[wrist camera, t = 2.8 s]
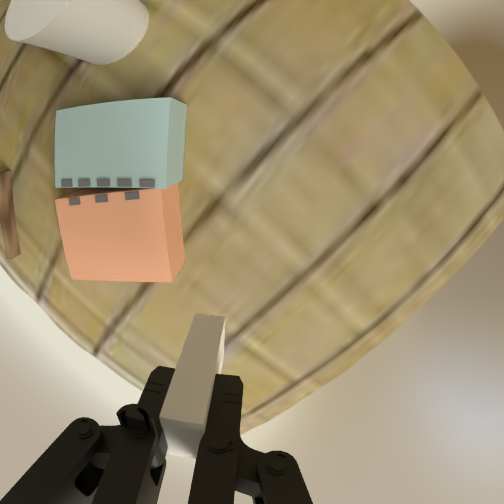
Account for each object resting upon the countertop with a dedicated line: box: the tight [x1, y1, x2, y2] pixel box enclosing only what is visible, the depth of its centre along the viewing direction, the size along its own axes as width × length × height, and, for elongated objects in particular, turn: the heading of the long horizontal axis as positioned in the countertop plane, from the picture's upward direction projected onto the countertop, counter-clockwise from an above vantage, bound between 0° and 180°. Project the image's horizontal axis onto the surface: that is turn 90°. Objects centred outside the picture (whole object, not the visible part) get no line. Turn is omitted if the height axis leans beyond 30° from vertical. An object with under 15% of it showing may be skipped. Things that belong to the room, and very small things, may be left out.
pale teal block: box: [55, 97, 187, 189], centre depth 22 cm, size 7×11×5 cm, turn 85°
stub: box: [55, 183, 185, 282], centre depth 25 cm, size 8×11×5 cm
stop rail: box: [0, 171, 20, 259], centre depth 26 cm, size 11×1×2 cm, turn 175°
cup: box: [5, 0, 149, 65], centre depth 14 cm, size 8×8×12 cm
